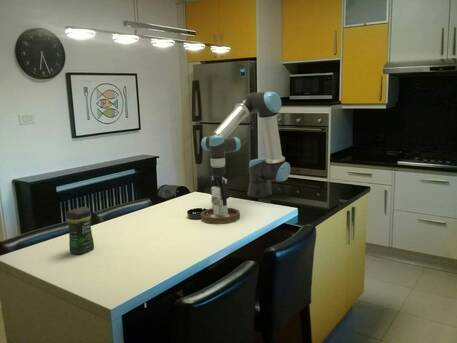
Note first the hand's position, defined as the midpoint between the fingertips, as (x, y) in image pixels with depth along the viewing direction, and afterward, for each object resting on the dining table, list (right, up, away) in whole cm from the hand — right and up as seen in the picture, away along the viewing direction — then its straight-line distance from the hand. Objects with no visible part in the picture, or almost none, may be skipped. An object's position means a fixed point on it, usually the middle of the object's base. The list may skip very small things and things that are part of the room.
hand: (220, 210), depth 209 cm
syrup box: (0, -2, 0) cm, 2 cm away
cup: (-1, -1, +22) cm, 22 cm away
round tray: (0, -4, +1) cm, 4 cm away
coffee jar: (-57, -14, -38) cm, 70 cm away
